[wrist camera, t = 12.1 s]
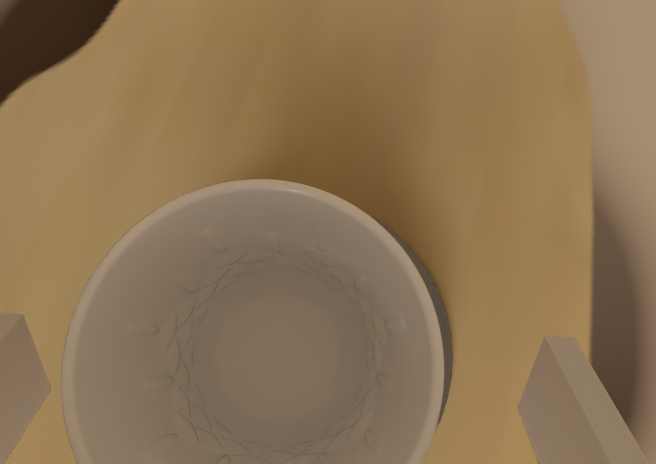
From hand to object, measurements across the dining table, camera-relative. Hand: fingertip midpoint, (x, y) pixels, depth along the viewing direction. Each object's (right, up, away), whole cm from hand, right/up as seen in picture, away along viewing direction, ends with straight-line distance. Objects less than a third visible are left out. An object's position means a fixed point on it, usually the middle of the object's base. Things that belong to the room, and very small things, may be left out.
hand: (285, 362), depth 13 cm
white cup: (-1, -2, +7) cm, 7 cm away
